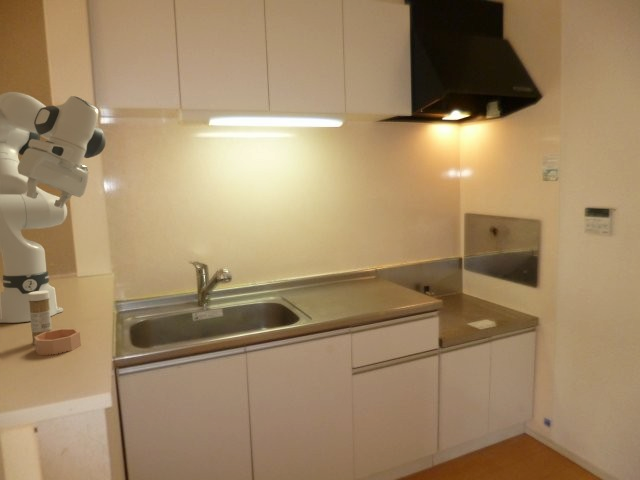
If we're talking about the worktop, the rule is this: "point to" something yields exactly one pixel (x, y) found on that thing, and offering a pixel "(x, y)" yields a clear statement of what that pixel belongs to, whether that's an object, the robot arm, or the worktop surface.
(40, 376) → the worktop surface
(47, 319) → the sprinkles bottle
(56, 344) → the bowl
